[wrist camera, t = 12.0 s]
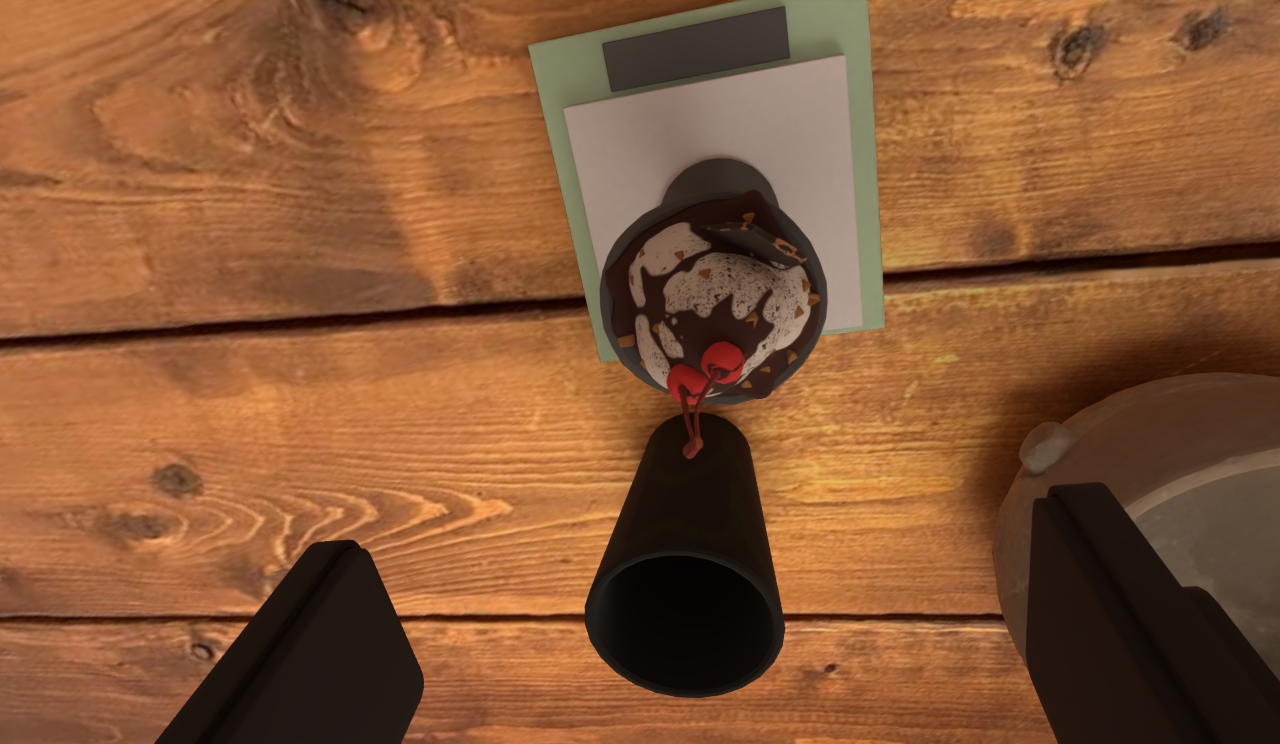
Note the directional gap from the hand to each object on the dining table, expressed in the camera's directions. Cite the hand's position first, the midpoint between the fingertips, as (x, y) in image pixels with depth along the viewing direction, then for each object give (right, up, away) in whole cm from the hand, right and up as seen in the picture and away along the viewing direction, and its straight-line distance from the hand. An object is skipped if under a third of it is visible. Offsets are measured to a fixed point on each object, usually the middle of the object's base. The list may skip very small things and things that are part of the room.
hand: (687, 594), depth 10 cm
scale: (+3, +11, +22) cm, 25 cm away
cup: (+2, -1, +29) cm, 29 cm away
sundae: (+3, +10, +20) cm, 23 cm away
